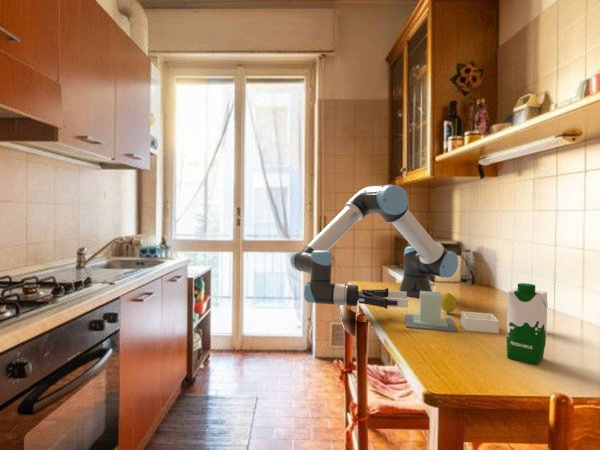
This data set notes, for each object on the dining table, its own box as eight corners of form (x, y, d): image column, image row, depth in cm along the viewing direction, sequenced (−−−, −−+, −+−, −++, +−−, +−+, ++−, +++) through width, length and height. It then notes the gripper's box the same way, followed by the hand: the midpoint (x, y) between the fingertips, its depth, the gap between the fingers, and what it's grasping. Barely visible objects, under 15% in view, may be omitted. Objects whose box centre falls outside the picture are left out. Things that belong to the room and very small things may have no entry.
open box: (460, 322, 140) (461, 311, 140) (491, 325, 138) (492, 313, 138) (465, 330, 130) (466, 318, 130) (498, 333, 128) (499, 321, 128)
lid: (412, 316, 145) (413, 289, 144) (444, 319, 142) (445, 291, 142) (413, 324, 134) (414, 295, 134) (448, 327, 131) (449, 297, 131)
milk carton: (502, 358, 105) (505, 283, 105) (511, 350, 112) (514, 279, 112) (540, 367, 100) (543, 288, 99) (547, 358, 106) (551, 283, 106)
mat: (405, 315, 148) (405, 314, 148) (450, 319, 144) (450, 318, 144) (406, 327, 132) (406, 325, 132) (457, 332, 128) (457, 330, 128)
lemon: (457, 315, 150) (457, 294, 150) (441, 314, 151) (442, 293, 151) (454, 312, 155) (455, 291, 155) (439, 311, 156) (440, 291, 156)
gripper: (350, 298, 157) (405, 302, 152) (342, 313, 132) (408, 318, 127) (350, 279, 156) (406, 283, 152) (342, 290, 132) (408, 295, 127)
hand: (407, 299), depth 139 cm, fingers open, 13 cm apart
